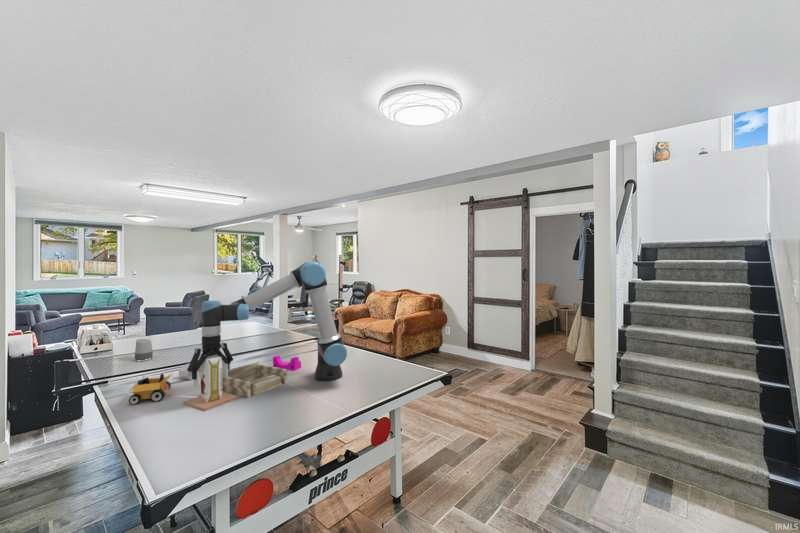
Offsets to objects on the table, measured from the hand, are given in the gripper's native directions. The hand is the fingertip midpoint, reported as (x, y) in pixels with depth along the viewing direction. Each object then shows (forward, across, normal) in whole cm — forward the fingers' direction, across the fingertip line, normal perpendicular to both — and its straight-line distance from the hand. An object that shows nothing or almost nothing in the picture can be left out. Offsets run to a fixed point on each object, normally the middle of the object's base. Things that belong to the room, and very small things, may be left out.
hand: (211, 381), depth 156 cm
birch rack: (+9, -22, 0) cm, 24 cm away
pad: (+9, 0, 0) cm, 9 cm away
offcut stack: (+9, -22, +8) cm, 25 cm away
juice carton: (+8, 0, 0) cm, 8 cm away
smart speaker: (+9, -21, -105) cm, 107 cm away
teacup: (+8, -27, -31) cm, 42 cm away
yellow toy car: (+9, +10, -30) cm, 33 cm away
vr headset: (+8, -15, -38) cm, 41 cm away
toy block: (+9, -52, -8) cm, 54 cm away
